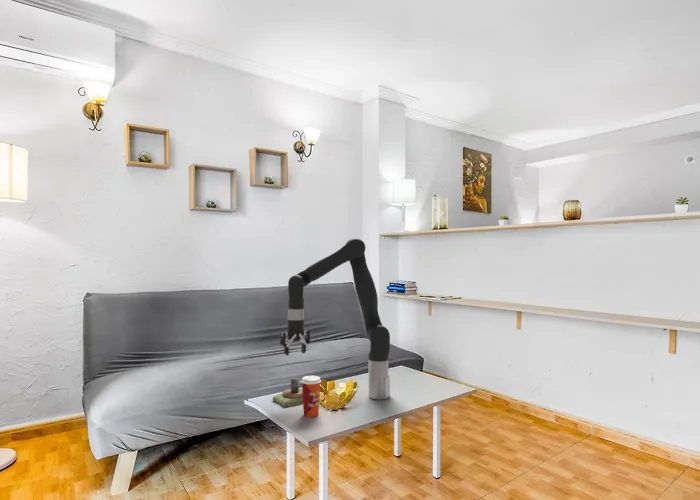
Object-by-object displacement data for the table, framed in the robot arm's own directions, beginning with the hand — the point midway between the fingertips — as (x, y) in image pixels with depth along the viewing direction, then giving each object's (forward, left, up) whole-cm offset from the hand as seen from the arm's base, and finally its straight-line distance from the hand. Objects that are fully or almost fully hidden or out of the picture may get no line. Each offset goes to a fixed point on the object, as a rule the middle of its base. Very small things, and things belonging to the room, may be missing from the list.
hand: (295, 354), depth 191 cm
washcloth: (0, 0, -21) cm, 21 cm away
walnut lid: (0, +1, -18) cm, 18 cm away
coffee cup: (-16, +13, -21) cm, 30 cm away
